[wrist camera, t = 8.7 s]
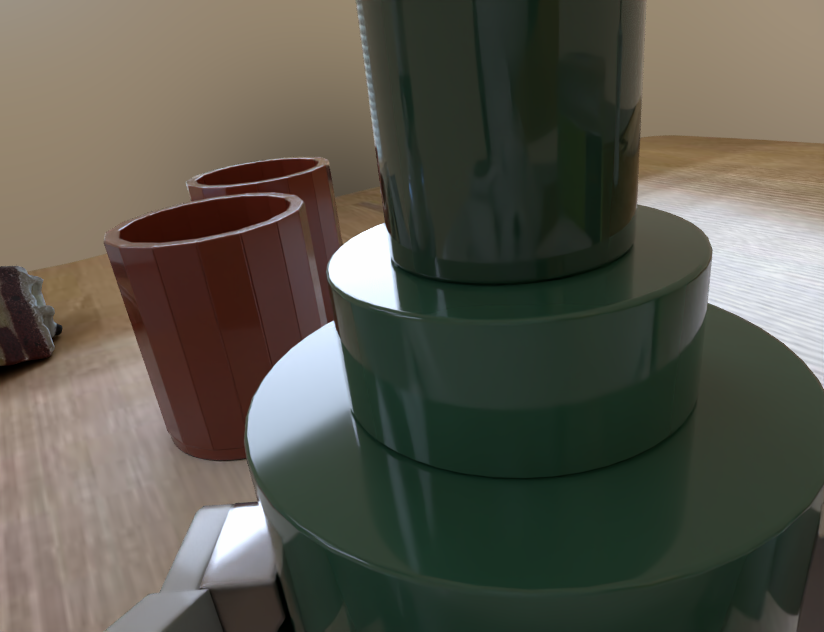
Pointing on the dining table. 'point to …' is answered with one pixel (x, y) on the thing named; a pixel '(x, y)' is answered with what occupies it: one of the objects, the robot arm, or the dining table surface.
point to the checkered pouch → (24, 318)
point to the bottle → (530, 364)
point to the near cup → (216, 306)
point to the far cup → (285, 177)
